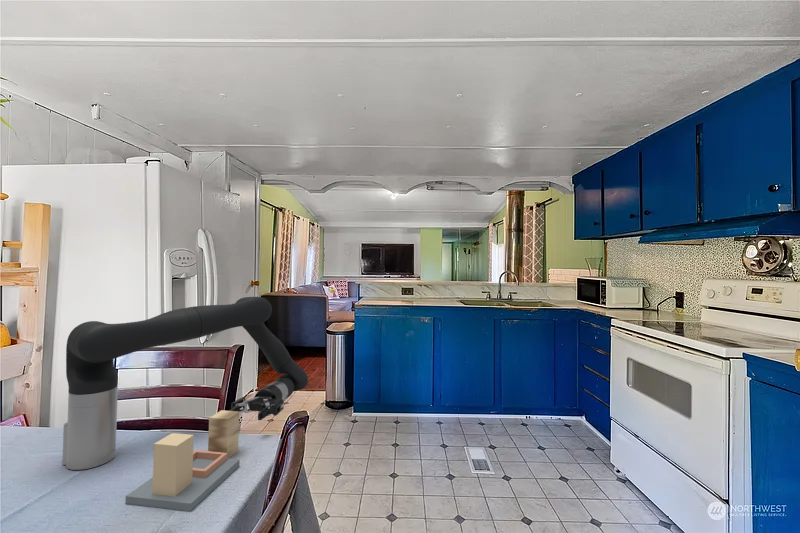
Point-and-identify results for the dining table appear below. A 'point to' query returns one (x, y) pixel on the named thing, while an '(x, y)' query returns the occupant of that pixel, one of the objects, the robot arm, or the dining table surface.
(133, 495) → the base board
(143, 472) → the dining table surface
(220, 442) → the maple pillar
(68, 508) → the dining table surface
